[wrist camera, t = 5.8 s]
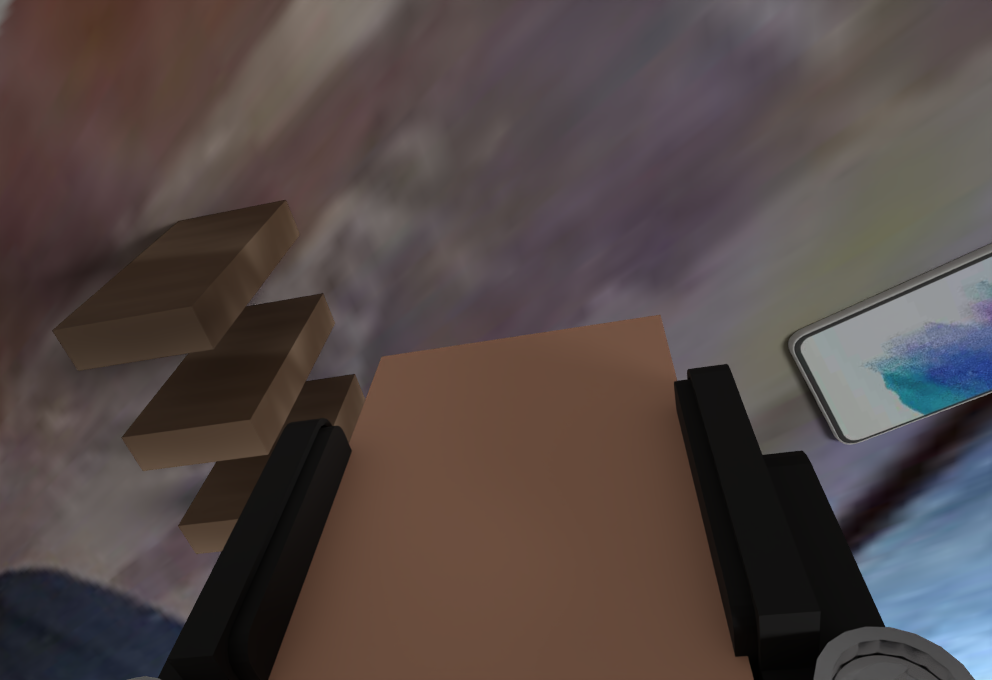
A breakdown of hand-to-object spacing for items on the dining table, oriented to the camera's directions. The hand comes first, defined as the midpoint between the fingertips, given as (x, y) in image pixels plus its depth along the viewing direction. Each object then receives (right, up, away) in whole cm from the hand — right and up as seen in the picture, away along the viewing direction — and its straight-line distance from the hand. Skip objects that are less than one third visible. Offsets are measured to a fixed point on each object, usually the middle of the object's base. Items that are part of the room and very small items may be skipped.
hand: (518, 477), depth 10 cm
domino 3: (-9, -1, +24) cm, 26 cm away
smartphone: (+21, +3, +20) cm, 29 cm away
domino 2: (-10, +3, +22) cm, 24 cm away
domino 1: (-11, +7, +20) cm, 24 cm away
